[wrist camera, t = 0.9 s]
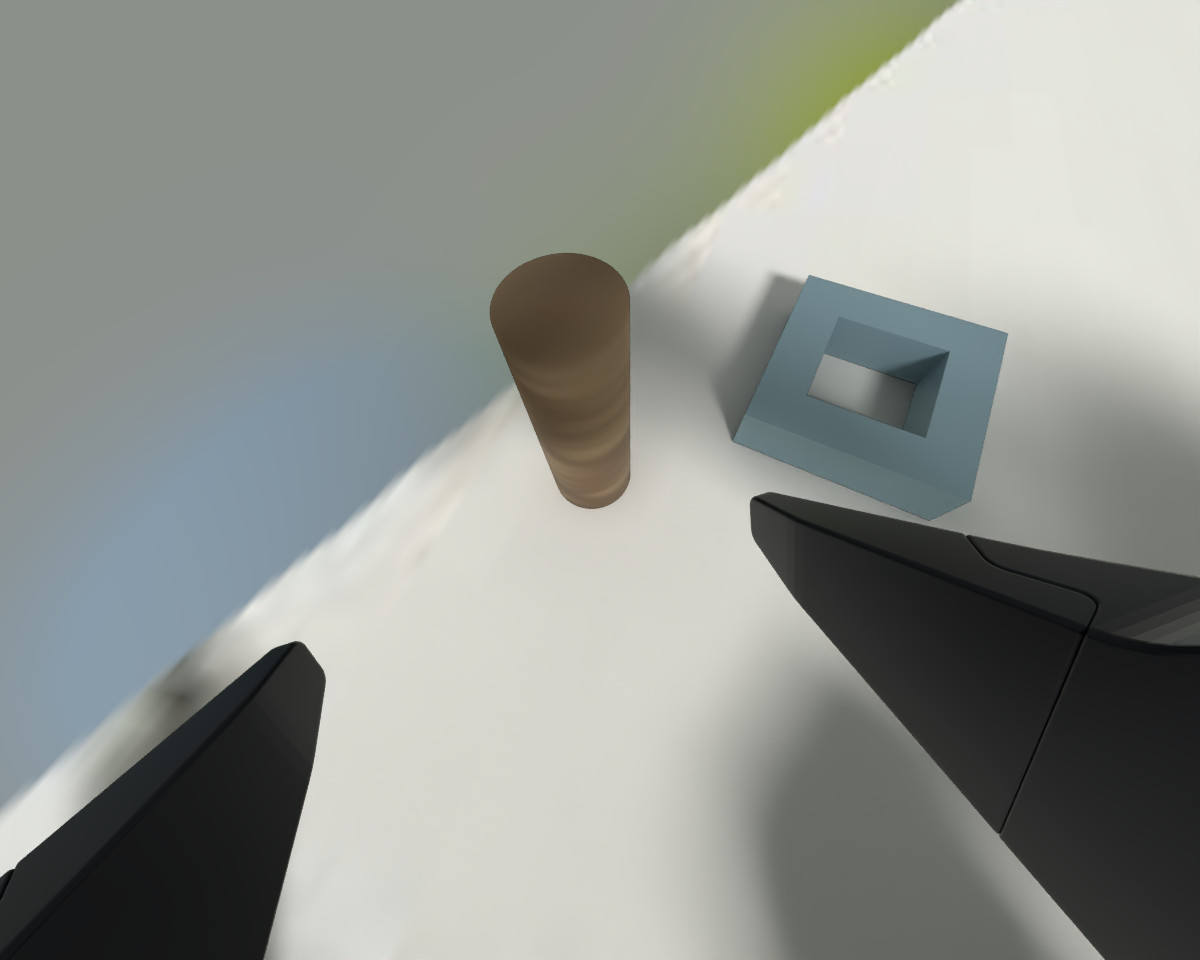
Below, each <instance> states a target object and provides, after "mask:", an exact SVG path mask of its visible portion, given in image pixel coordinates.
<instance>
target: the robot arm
mask: <svg viewBox="0 0 1200 960" xmlns="http://www.w3.org/2000/svg"><path fill="white" fill-rule="evenodd" d="M750 517H751V532H752V535H753V538H754V540H755V542H756V543H757V545H758V546H759V548H760V549H761V551H762V552H763V554H764V555H765V557H766V558H767V559H768V561H769V562H770V564H771V565H772V567H773V568H774V570H775V571H776V573H777V574H778V575H779V577H780V578H781V580H782V581H783V583H784V584H785V586H786V587H787V589H788V590H789V591H790V593H791V594H792V595H793V597H794V598H795V599H796V601H797V602H798V603H799V604H800V605H801V607H802V608H803V609H804V610H805V611H806V613H807V614H808V615H809V616H810V617H811V618H812V619H813V621H814V622H815V623H816V624H817V625H818V626H819V628H820V629H821V630H822V631H823V632H824V633H825V635H826V636H827V637H828V638H829V639H830V640H831V642H832V643H833V644H834V645H835V646H836V647H837V648H838V650H839V651H840V652H841V653H842V654H843V655H844V657H845V658H846V659H847V660H848V661H849V662H850V664H851V665H852V666H853V667H854V668H855V669H856V671H857V672H858V673H859V674H860V675H861V676H862V678H863V679H864V680H865V681H866V682H867V683H868V684H869V686H870V687H871V688H872V689H873V690H874V691H875V693H876V694H877V695H878V696H879V697H880V698H881V700H882V701H883V702H884V703H885V704H886V705H887V707H888V708H889V709H890V710H891V711H892V712H893V714H894V715H895V716H896V717H897V718H898V719H899V720H900V722H901V723H902V724H903V725H904V726H905V727H906V729H907V730H908V731H909V732H910V733H911V734H912V736H913V737H914V738H915V739H916V740H917V741H918V743H919V744H920V745H921V746H922V747H923V748H924V750H925V751H926V752H927V753H928V754H929V755H930V756H931V758H932V759H933V760H934V761H935V762H936V763H937V765H938V766H939V767H940V768H941V769H942V770H943V772H944V773H945V774H946V775H947V776H948V777H949V779H950V780H951V781H952V782H953V783H954V784H955V785H956V787H957V788H958V789H959V790H960V791H961V792H962V794H963V795H964V796H965V797H966V798H967V799H968V801H969V802H970V803H971V804H972V805H973V806H974V808H975V809H976V810H977V811H978V812H979V813H980V815H981V816H982V817H983V818H984V819H985V820H986V821H987V823H988V824H989V825H990V826H991V827H992V828H993V830H994V831H995V832H996V833H998V834H1000V835H999V836H1000V838H1001V839H1002V841H1003V842H1004V843H1005V844H1006V845H1007V846H1008V848H1009V849H1010V850H1011V851H1012V852H1013V853H1014V855H1015V856H1016V857H1017V858H1018V859H1019V860H1020V862H1021V863H1022V864H1023V865H1024V866H1025V867H1026V868H1027V870H1028V871H1029V872H1030V873H1031V874H1032V875H1033V877H1034V878H1035V879H1036V880H1037V881H1038V882H1039V884H1040V885H1041V886H1042V887H1043V888H1044V889H1045V891H1046V892H1047V893H1048V894H1049V895H1050V896H1051V898H1052V899H1053V900H1054V901H1055V902H1056V903H1057V904H1058V906H1059V907H1060V908H1061V909H1062V910H1063V911H1064V913H1065V914H1066V915H1067V916H1068V917H1069V918H1070V920H1071V921H1072V922H1073V923H1074V924H1075V925H1076V927H1077V928H1078V929H1079V930H1080V931H1081V932H1082V933H1083V935H1084V936H1085V937H1086V938H1087V939H1088V940H1089V942H1090V943H1091V944H1092V945H1093V946H1094V947H1095V949H1096V950H1097V951H1098V952H1099V953H1100V954H1101V956H1102V957H1103V958H1104V959H1105V960H1200V577H1195V576H1190V575H1184V574H1178V573H1172V572H1166V571H1160V570H1154V569H1148V568H1143V567H1137V566H1131V565H1125V564H1119V563H1113V562H1107V561H1101V560H1096V559H1090V558H1084V557H1078V556H1073V555H1067V554H1062V553H1056V552H1051V551H1045V550H1039V549H1034V548H1029V547H1024V546H1020V545H1015V544H1010V543H1005V542H1000V541H995V540H990V539H986V538H981V537H977V536H972V535H967V536H965V535H964V534H962V533H958V532H953V531H949V530H944V529H939V528H935V527H930V526H926V525H921V524H916V523H912V522H907V521H902V520H898V519H893V518H888V517H884V516H879V515H875V514H870V513H865V512H861V511H856V510H852V509H847V508H842V507H838V506H833V505H828V504H824V503H819V502H815V501H810V500H805V499H801V498H796V497H792V496H787V495H782V494H778V493H773V492H767V493H764V494H761V495H758V496H755V497H753V498H752V499H751V501H750ZM325 685H326V678H325V673H324V671H323V669H322V667H321V666H320V665H319V663H318V662H317V661H316V659H315V658H314V656H313V655H312V654H311V652H310V651H309V650H308V648H307V647H306V646H305V645H304V644H303V643H302V642H299V641H294V642H291V643H288V644H285V645H282V646H278V647H276V648H274V649H272V650H270V651H269V652H268V653H267V654H266V655H264V656H263V657H262V658H261V659H260V660H259V661H257V662H256V663H255V664H254V665H253V666H251V667H250V668H249V669H248V670H247V671H245V672H244V673H243V674H242V675H241V676H240V677H238V678H237V679H236V680H235V681H234V682H232V683H231V684H230V685H229V686H228V687H226V688H225V689H224V690H223V691H222V692H221V693H219V694H218V695H217V696H216V697H215V698H213V699H212V700H211V701H210V702H209V703H207V704H206V705H205V706H204V707H203V708H201V709H200V710H199V711H198V712H197V713H196V714H194V715H193V716H192V717H191V718H190V719H188V720H187V721H186V722H185V723H184V724H182V725H181V726H180V727H179V728H178V729H177V730H175V731H174V732H173V733H172V734H171V735H169V736H168V737H167V738H166V739H165V740H163V741H162V742H161V743H160V744H159V745H157V746H156V747H155V748H154V749H153V750H152V751H150V752H149V753H148V754H147V755H146V756H144V757H143V758H142V759H141V760H140V761H138V762H137V763H136V764H135V765H134V766H133V767H131V768H130V769H129V770H128V771H127V772H125V773H124V774H123V775H122V776H121V777H119V778H118V779H117V780H116V781H115V782H114V783H112V784H111V785H110V786H109V787H108V788H106V789H105V790H104V791H103V792H102V793H100V794H99V795H98V796H97V797H96V798H94V799H93V800H92V801H91V802H90V803H89V804H87V805H86V806H85V807H84V808H83V809H81V810H80V811H79V812H78V813H77V814H75V815H74V816H73V817H72V818H71V819H70V820H68V821H67V822H66V823H65V824H64V825H62V826H61V827H60V828H59V829H58V830H56V831H55V832H54V833H53V834H52V835H51V836H49V837H48V838H47V839H46V840H45V841H43V842H42V843H41V844H40V845H39V846H37V847H36V848H35V849H34V850H33V851H31V852H30V853H29V854H28V855H27V856H26V857H24V858H23V859H22V860H21V861H20V862H19V863H18V864H17V865H16V867H15V869H12V870H9V871H8V872H6V873H5V874H4V875H3V876H2V877H0V960H264V957H265V953H266V949H267V945H268V941H269V938H270V934H271V930H272V926H273V922H274V918H275V914H276V910H277V906H278V902H279V899H280V895H281V891H282V887H283V883H284V879H285V875H286V871H287V867H288V863H289V859H290V856H291V852H292V848H293V844H294V840H295V836H296V832H297V828H298V824H299V820H300V816H301V813H302V809H303V805H304V801H305V797H306V793H307V789H308V785H309V781H310V777H311V772H312V768H313V763H314V757H315V752H316V745H317V738H318V732H319V725H320V718H321V712H322V705H323V698H324V691H325Z"/></svg>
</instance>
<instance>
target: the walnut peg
mask: <svg viewBox="0 0 1200 960" xmlns="http://www.w3.org/2000/svg"><path fill="white" fill-rule="evenodd" d="M490 319H491V324H492V327H493V329H494V332H495V334H496V337H497V339H498V341H499V344H500V346H501V349H502V351H503V354H504V356H505V359H506V361H507V364H508V366H509V368H510V371H511V373H512V376H513V378H514V381H515V383H516V386H517V388H518V391H519V393H520V395H521V398H522V400H523V403H524V405H525V408H526V410H527V413H528V415H529V418H530V420H531V422H532V425H533V427H534V430H535V432H536V435H537V437H538V440H539V442H540V445H541V447H542V449H543V452H544V454H545V457H546V459H547V462H548V464H549V467H550V469H551V471H552V474H553V476H554V479H555V481H556V484H557V486H558V489H559V491H560V492H561V494H562V495H563V496H564V497H565V498H566V499H567V500H568V501H569V502H570V503H572V504H574V505H576V506H579V507H582V508H588V509H596V508H602V507H605V506H608V505H610V504H612V503H613V502H615V501H616V500H618V499H619V498H620V497H621V496H622V494H623V493H624V492H625V490H626V488H627V486H628V484H629V480H630V295H629V290H628V288H627V285H626V283H625V281H624V280H623V278H622V277H621V275H620V274H619V273H618V272H617V271H616V270H615V269H614V268H613V267H611V266H610V265H609V264H607V263H605V262H603V261H601V260H599V259H597V258H594V257H591V256H587V255H583V254H575V253H559V254H551V255H546V256H542V257H539V258H536V259H533V260H531V261H529V262H527V263H524V264H523V265H521V266H519V267H518V268H516V269H515V270H513V271H512V272H511V273H510V274H509V275H507V276H506V277H505V278H504V280H503V281H502V282H501V283H500V284H499V286H498V287H497V289H496V291H495V293H494V295H493V298H492V301H491V305H490Z"/></svg>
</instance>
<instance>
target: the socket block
mask: <svg viewBox="0 0 1200 960" xmlns="http://www.w3.org/2000/svg"><path fill="white" fill-rule="evenodd" d="M1007 336H1008V333H1005V332H1002V331H999V330H995V329H992V328H988V327H985V326H982V325H978V324H975V323H971V322H968V321H964V320H961V319H958V318H954V317H951V316H947V315H944V314H941V313H937V312H934V311H930V310H927V309H924V308H920V307H917V306H913V305H910V304H906V303H903V302H900V301H896V300H893V299H889V298H886V297H883V296H879V295H876V294H872V293H869V292H865V291H862V290H859V289H855V288H852V287H848V286H845V285H842V284H838V283H835V282H831V281H828V280H824V279H821V278H818V277H814V276H811V275H809V276H808V278H807V280H806V283H805V285H804V287H803V289H802V291H801V294H800V296H799V298H798V300H797V302H796V304H795V307H794V309H793V311H792V313H791V315H790V317H789V320H788V322H787V324H786V326H785V328H784V330H783V333H782V335H781V337H780V339H779V341H778V344H777V346H776V348H775V350H774V352H773V354H772V357H771V359H770V361H769V363H768V365H767V367H766V370H765V372H764V374H763V376H762V378H761V380H760V383H759V385H758V387H757V389H756V391H755V394H754V396H753V398H752V400H751V402H750V404H749V407H748V409H747V411H746V413H745V415H744V417H743V420H742V422H741V424H740V426H739V428H738V431H737V433H736V435H735V437H734V439H733V442H735V443H738V444H740V445H743V446H745V447H748V448H750V449H753V450H755V451H758V452H760V453H763V454H765V455H768V456H770V457H773V458H775V459H778V460H780V461H783V462H785V463H788V464H790V465H793V466H795V467H798V468H800V469H803V470H805V471H808V472H810V473H813V474H815V475H818V476H820V477H823V478H825V479H827V480H830V481H832V482H835V483H837V484H840V485H842V486H845V487H847V488H850V489H852V490H855V491H857V492H860V493H862V494H865V495H867V496H870V497H872V498H875V499H877V500H880V501H882V502H885V503H887V504H890V505H892V506H895V507H897V508H900V509H902V510H905V511H907V512H910V513H912V514H915V515H917V516H920V517H922V518H925V519H927V520H932V519H934V518H936V517H938V516H941V515H943V514H945V513H947V512H949V511H951V510H953V509H955V508H957V507H959V506H961V505H963V504H965V503H967V502H969V501H971V497H972V493H973V488H974V484H975V479H976V475H977V470H978V466H979V461H980V457H981V452H982V448H983V443H984V439H985V435H986V430H987V426H988V421H989V417H990V412H991V408H992V403H993V399H994V394H995V390H996V385H997V381H998V376H999V372H1000V368H1001V363H1002V359H1003V354H1004V350H1005V345H1006V341H1007ZM824 353H825V354H828V355H831V356H834V357H837V358H840V359H843V360H846V361H849V362H852V363H855V364H858V365H861V366H864V367H867V368H870V369H873V370H876V371H879V372H882V373H885V374H888V375H891V376H894V377H897V378H900V379H903V380H906V381H909V382H912V383H915V384H917V385H916V388H915V391H914V395H913V398H912V401H911V405H910V408H909V411H908V414H907V418H906V421H905V424H904V428H903V430H901V429H899V428H896V427H893V426H890V425H888V424H885V423H882V422H879V421H876V420H874V419H871V418H868V417H865V416H863V415H860V414H857V413H854V412H851V411H849V410H846V409H843V408H840V407H837V406H835V405H832V404H829V403H826V402H824V401H821V400H818V399H815V398H812V397H810V396H807V393H808V391H809V388H810V386H811V383H812V381H813V378H814V376H815V374H816V371H817V369H818V366H819V364H820V361H821V359H822V356H823V354H824Z"/></svg>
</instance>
